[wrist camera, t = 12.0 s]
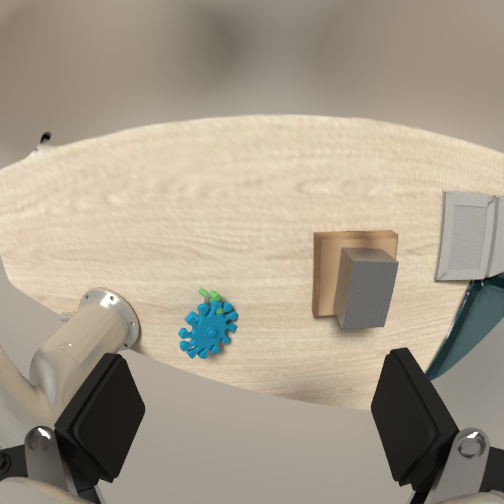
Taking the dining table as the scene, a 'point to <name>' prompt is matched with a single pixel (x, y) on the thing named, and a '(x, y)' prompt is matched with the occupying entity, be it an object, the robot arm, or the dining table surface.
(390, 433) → the robot arm
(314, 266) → the stand
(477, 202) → the grey folded flat piece
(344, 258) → the grey rectangular block
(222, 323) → the gear
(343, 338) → the dining table surface
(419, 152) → the dining table surface
